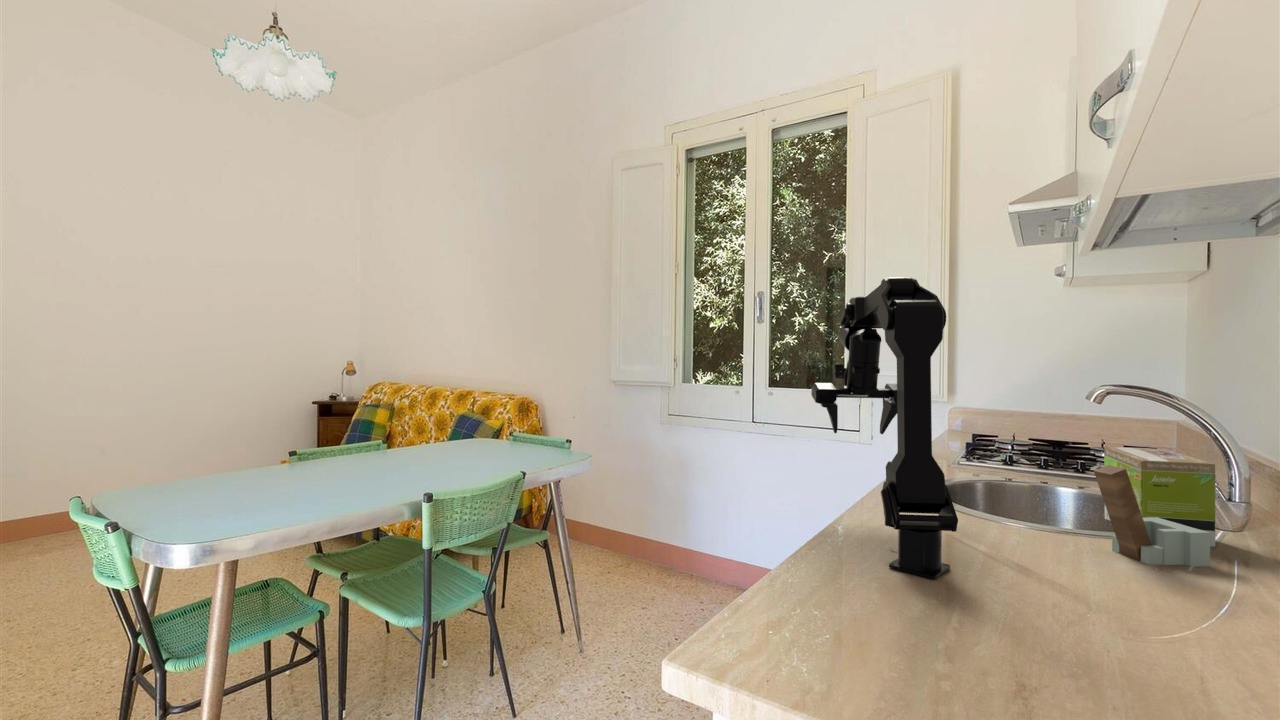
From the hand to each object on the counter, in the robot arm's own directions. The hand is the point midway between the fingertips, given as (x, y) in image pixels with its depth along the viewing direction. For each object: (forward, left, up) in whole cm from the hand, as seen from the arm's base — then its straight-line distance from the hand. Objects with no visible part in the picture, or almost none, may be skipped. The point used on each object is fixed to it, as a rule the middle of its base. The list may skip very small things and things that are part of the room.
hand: (858, 433), depth 119 cm
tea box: (+20, -44, -16) cm, 51 cm away
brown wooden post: (0, -44, -14) cm, 46 cm away
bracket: (+1, -46, -15) cm, 48 cm away
